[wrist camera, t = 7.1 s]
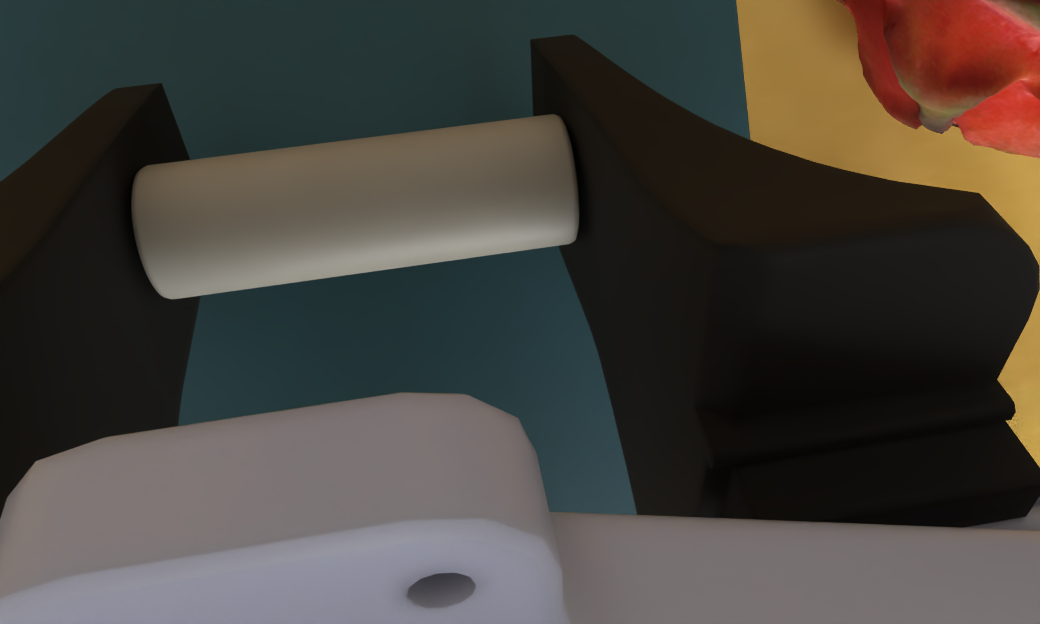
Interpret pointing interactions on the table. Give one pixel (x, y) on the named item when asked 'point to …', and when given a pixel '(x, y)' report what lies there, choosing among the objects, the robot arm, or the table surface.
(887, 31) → the dragon fruit
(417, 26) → the cool box lid
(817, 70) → the table surface
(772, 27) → the table surface
